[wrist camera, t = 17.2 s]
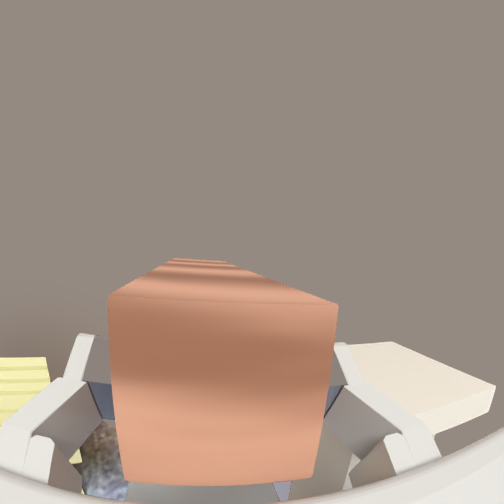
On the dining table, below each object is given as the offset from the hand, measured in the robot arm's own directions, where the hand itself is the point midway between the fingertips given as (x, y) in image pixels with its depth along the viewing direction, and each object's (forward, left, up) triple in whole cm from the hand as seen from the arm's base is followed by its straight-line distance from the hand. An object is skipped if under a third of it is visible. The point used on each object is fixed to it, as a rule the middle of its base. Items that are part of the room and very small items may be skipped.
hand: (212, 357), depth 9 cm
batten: (+9, 0, -2) cm, 10 cm away
